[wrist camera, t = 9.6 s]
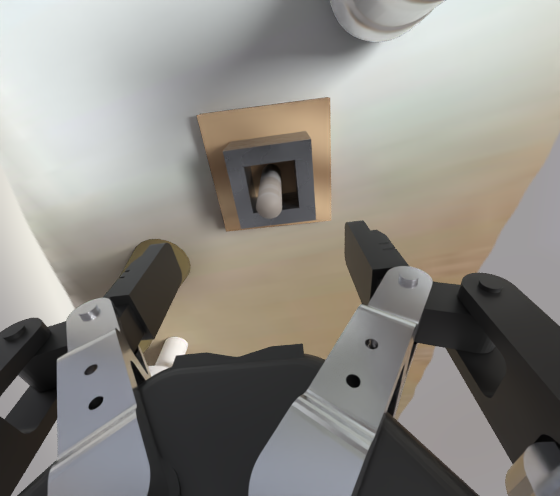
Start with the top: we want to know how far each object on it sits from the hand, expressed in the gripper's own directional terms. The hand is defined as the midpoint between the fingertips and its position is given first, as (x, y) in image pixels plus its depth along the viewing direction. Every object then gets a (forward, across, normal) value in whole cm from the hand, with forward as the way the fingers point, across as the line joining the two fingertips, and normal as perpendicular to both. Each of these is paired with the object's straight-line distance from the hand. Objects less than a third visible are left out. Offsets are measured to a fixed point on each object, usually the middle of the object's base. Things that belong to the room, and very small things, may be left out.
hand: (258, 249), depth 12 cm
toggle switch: (+13, 0, 0) cm, 13 cm away
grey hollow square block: (+12, -1, 0) cm, 12 cm away
